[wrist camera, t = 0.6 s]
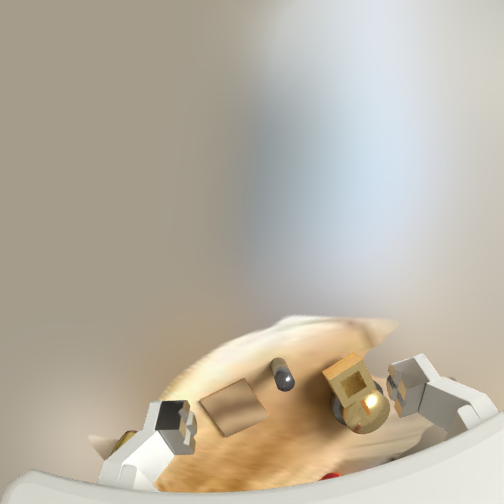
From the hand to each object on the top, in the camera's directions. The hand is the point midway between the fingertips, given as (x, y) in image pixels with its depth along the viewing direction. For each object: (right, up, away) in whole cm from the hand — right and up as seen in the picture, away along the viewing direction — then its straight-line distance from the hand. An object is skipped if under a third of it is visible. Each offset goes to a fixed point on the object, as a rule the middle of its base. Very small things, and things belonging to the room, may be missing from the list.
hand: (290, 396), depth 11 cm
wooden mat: (-5, -26, +46) cm, 53 cm away
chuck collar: (+19, -22, +44) cm, 52 cm away
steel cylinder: (+4, -16, +47) cm, 49 cm away
